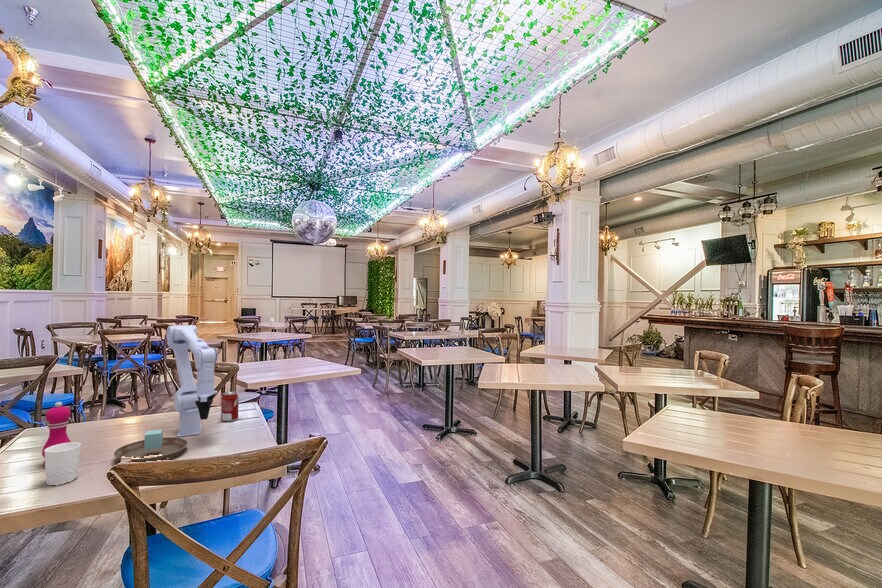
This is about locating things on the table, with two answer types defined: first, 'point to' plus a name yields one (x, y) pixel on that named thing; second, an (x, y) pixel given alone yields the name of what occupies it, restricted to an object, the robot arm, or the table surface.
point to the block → (153, 439)
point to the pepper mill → (57, 426)
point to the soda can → (229, 406)
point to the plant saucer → (152, 450)
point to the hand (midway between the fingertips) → (204, 416)
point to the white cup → (62, 462)
